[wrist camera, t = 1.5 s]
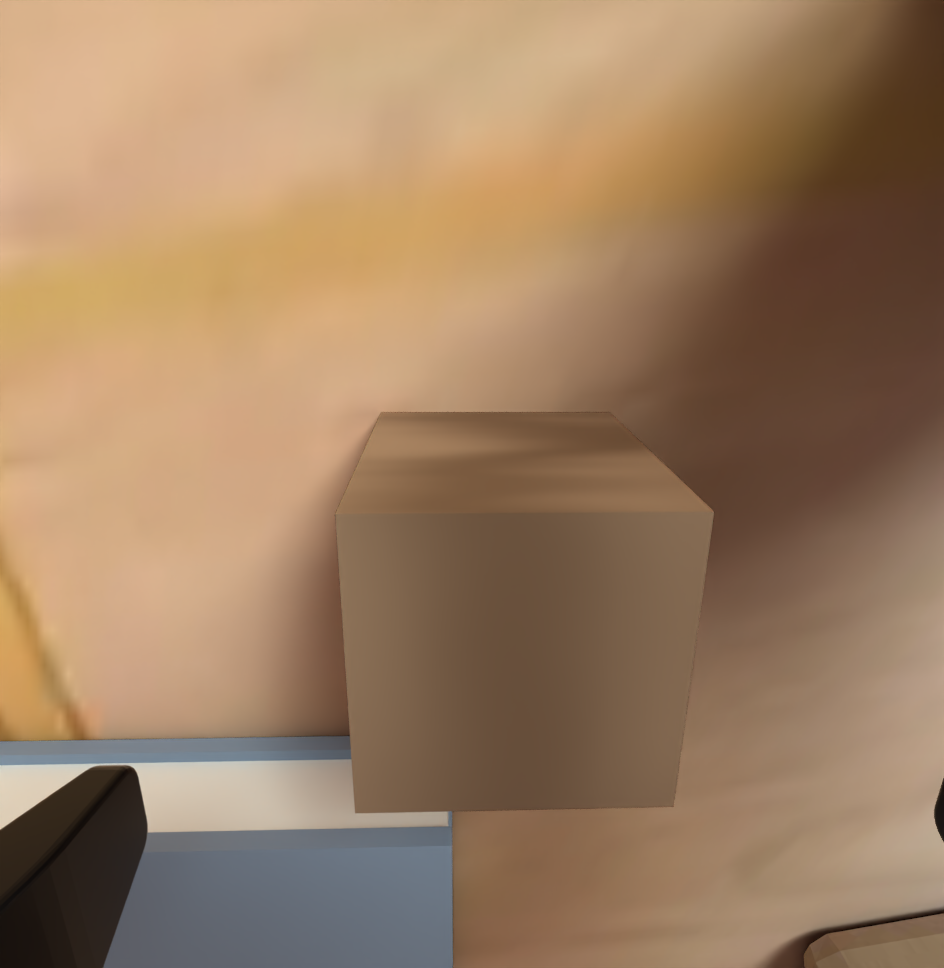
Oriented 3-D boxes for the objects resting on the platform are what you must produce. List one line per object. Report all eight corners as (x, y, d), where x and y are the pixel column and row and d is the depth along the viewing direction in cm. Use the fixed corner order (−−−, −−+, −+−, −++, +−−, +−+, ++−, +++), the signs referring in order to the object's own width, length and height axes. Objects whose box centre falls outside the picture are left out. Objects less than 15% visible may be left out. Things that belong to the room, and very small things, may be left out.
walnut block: (609, 412, 14) (714, 511, 9) (593, 612, 16) (673, 806, 10) (381, 411, 14) (335, 513, 8) (389, 614, 16) (354, 813, 10)
